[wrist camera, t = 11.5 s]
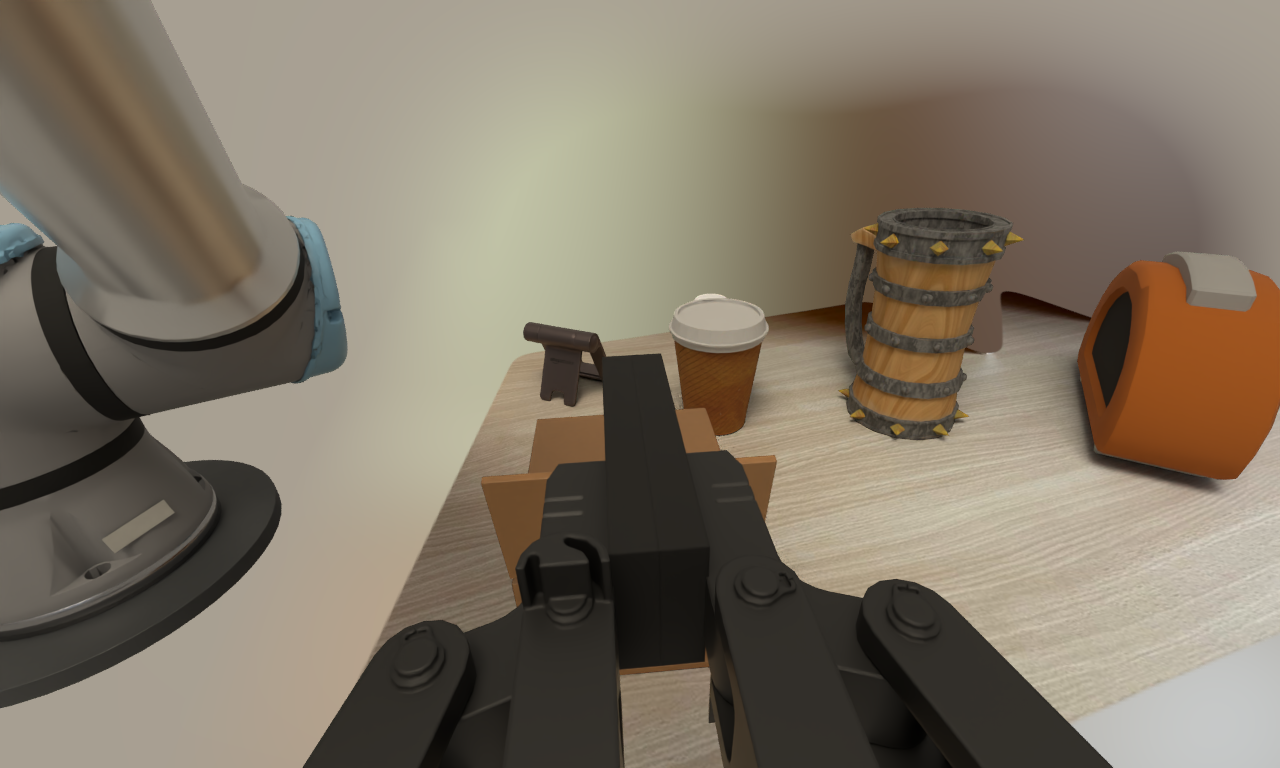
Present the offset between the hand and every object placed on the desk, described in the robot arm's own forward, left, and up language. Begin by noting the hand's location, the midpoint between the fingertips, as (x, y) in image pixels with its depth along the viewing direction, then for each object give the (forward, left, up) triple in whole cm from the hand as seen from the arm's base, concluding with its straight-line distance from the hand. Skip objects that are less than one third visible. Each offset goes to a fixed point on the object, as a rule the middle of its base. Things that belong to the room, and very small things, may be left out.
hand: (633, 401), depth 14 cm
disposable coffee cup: (+10, +35, -24) cm, 44 cm away
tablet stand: (-5, +44, -24) cm, 51 cm away
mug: (+29, +36, -24) cm, 52 cm away
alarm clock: (+51, +29, -24) cm, 64 cm away
